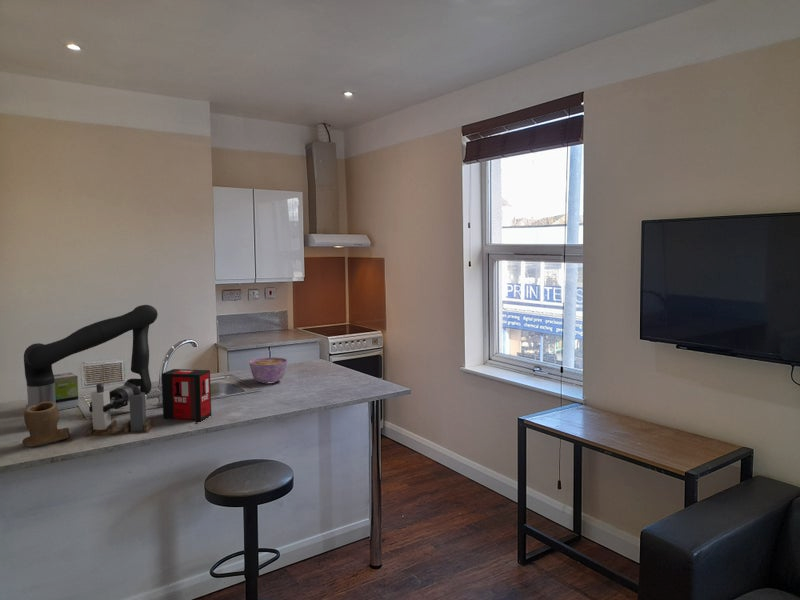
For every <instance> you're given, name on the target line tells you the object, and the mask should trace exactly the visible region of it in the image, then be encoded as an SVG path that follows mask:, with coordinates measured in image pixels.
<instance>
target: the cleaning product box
mask: <svg viewBox="0 0 800 600" xmlns="http://www.w3.org/2000/svg"><path fill="white" fill-rule="evenodd" d="M161 388H162V389H161V392H162V416H163V417H162V419H164V420H181V421H183V420H185V421H195V422H201V421H203V420H205V419H206V418H208V417H209V416H211V417H212V398H211V397H212V396H211V395H212V391H211V370H210V369H182V368H181V369H180V368H173V369H169V370H168V371H165V372H162V373H161ZM208 419H209V418H208ZM206 420H207V419H206ZM206 420H205V421H206ZM203 422H204V421H203Z"/></svg>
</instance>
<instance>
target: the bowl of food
mask: <svg viewBox="0 0 800 600" xmlns="http://www.w3.org/2000/svg"><path fill="white" fill-rule="evenodd" d="M248 364H249V368H250V372H251V375H252V377H253V379H254V380H255V381H257V382H258V383H261V382H264V383H268V382H276V381H277V382H279V381H280V380H282V379H283V377H284V376H285V373H286V368H287V365H288V359H286V358H284V357H277V356H276V357H274V356H273V357H260V358H259V357H258V358H255V359H251V360H249V362H248ZM277 382H276V383H277Z"/></svg>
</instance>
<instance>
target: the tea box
mask: <svg viewBox="0 0 800 600" xmlns="http://www.w3.org/2000/svg"><path fill="white" fill-rule="evenodd" d="M53 375H54V383H55V399H56V405H57V407H58V410H59V411H61V410H68V408H69V409H74V408H73V407H76V408H78V407H79V379H78V375H76V374H75V373H73V372H65V373H58V374H57V373H55V374H53ZM77 406H78V407H77Z"/></svg>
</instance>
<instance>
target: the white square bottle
mask: <svg viewBox="0 0 800 600" xmlns="http://www.w3.org/2000/svg"><path fill="white" fill-rule="evenodd" d="M104 387H105V386H104V383H97V384H96V391H94V392H92V393H91V394H90V396H91V401H92V412H91V414H92V415H91V416H92V418H91V419H92V423H93V430H105V429H107V426H109V425H110V424H111V423H112V416H111V415H112V413H111V410H108V411H106V412H103V406H105V405H107V404H109V403H110V393H109V392H110V390H109V389H108V390H105V388H104Z"/></svg>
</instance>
